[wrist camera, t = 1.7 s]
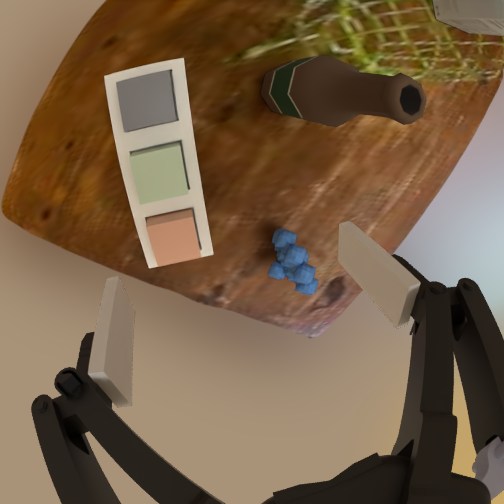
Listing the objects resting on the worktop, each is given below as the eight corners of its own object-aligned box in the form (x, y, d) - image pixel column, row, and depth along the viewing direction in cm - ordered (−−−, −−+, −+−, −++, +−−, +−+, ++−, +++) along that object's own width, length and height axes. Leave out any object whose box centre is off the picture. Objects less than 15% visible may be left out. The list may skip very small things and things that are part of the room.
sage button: (132, 152, 32) (129, 157, 29) (179, 141, 33) (180, 145, 30) (142, 196, 35) (140, 204, 33) (187, 186, 36) (188, 194, 34)
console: (109, 77, 28) (104, 76, 26) (183, 60, 30) (183, 57, 27) (150, 257, 43) (149, 268, 40) (210, 244, 44) (213, 254, 42)
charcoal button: (120, 83, 27) (115, 82, 25) (169, 72, 28) (169, 69, 26) (128, 129, 30) (124, 132, 28) (176, 118, 31) (176, 120, 29)
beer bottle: (247, 95, 34) (345, 102, 14) (279, 53, 32) (403, 24, 12) (291, 127, 38) (412, 175, 18) (321, 86, 35) (458, 102, 16)
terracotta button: (147, 217, 37) (146, 226, 34) (191, 207, 38) (192, 216, 35) (158, 255, 40) (157, 266, 37) (199, 246, 41) (201, 257, 38)
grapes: (242, 226, 44) (265, 270, 34) (282, 206, 44) (316, 243, 34) (269, 279, 50) (294, 327, 40) (304, 261, 50) (335, 305, 40)
